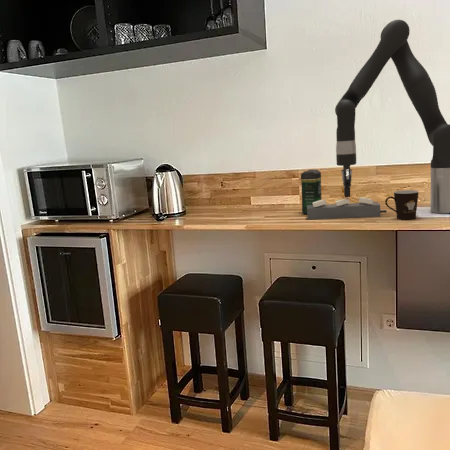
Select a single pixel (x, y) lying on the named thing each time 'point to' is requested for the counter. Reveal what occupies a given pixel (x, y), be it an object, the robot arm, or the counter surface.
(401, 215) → the coffee mug
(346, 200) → the middle rocker
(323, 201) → the far rocker
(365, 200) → the near rocker
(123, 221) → the counter surface
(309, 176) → the coffee jar
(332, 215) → the power strip
